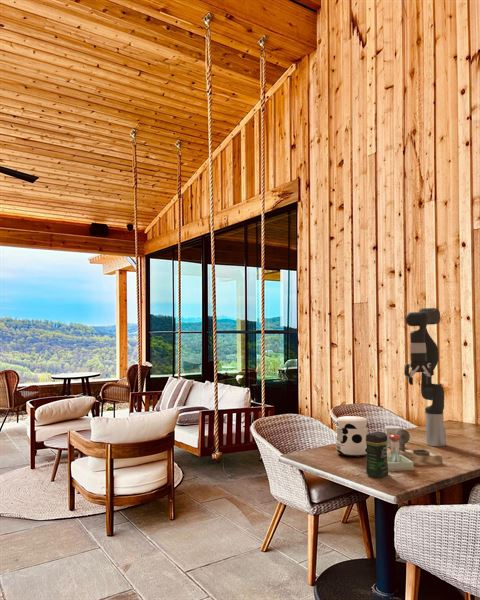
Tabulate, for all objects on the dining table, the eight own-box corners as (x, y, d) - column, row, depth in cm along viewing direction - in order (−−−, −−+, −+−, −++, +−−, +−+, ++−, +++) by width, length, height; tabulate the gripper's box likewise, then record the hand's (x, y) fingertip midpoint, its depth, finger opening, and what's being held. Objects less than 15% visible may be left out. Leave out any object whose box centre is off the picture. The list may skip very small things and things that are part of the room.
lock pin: (398, 462, 215) (397, 434, 216) (402, 465, 210) (401, 436, 211) (388, 463, 215) (387, 434, 215) (392, 466, 210) (391, 437, 210)
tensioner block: (429, 457, 227) (428, 427, 228) (442, 464, 215) (441, 432, 216) (394, 458, 226) (393, 428, 226) (406, 465, 214) (404, 434, 215)
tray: (401, 462, 219) (401, 455, 219) (413, 469, 207) (413, 462, 207) (377, 463, 218) (377, 456, 218) (388, 470, 206) (387, 463, 206)
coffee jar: (379, 479, 194) (378, 435, 195) (363, 475, 200) (362, 432, 201) (391, 474, 201) (390, 431, 202) (375, 470, 207) (374, 429, 208)
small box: (399, 445, 251) (399, 425, 252) (402, 447, 246) (401, 428, 246) (385, 445, 252) (384, 425, 253) (387, 447, 246) (386, 427, 247)
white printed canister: (375, 452, 237) (374, 417, 238) (364, 460, 222) (363, 423, 223) (343, 448, 246) (342, 414, 247) (330, 456, 232) (329, 420, 233)
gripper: (427, 351, 233) (429, 383, 232) (401, 351, 232) (402, 384, 231) (435, 352, 226) (437, 385, 225) (408, 352, 224) (409, 385, 223)
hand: (419, 384), depth 228 cm, fingers open, 8 cm apart
